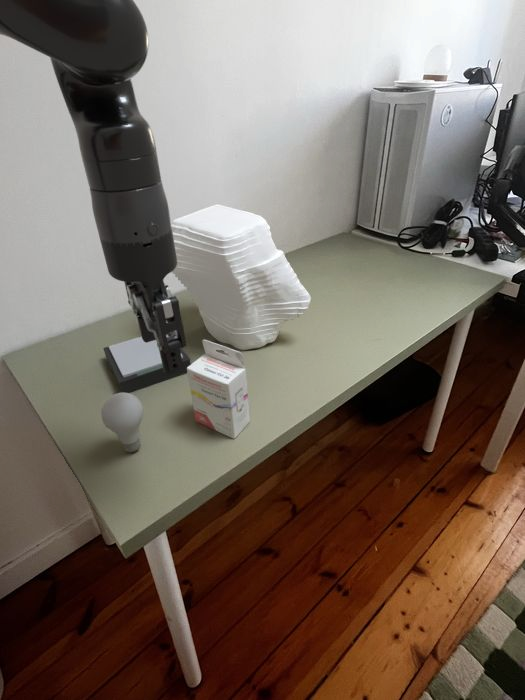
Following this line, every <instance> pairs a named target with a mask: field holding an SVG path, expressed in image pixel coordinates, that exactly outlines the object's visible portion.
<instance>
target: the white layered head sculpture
mask: <svg viewBox="0 0 525 700" xmlns="http://www.w3.org/2000/svg"><path fill="white" fill-rule="evenodd" d="M171 226H172V232H173V238H174V244H175V250H176V256H177V266H176V268H175V269H174V270H173V271H172V272H171V273H172V274H174V276H175V278H177V280H178V281H179V282H180V284H182V285H183V287H185V288H186V290H187V291H188V294H189V297H190V298H191V299H192V301H193V302H194V303H195V304H196V306H197V308H198V311H199V312H198V313H199V314H200V317H201V318H202V321H203V324H204V326H205V327H206V331H207V332H208V333H209V334H210V335H211V336H212V337H213V338H214V339H215V340H217V341H218V342H220V343H224V344H228V345H231V346H232V347H234V348H235V349H237V350H242V351H247V350H252V349H259V348H262V347H264V346H266V345H267V344H270V343H273V342H275V341H276V339H277V338H278V335H279V334H280V332H281V331H282V330H281V329H282V328H283V326H284V324H285V322H288V321H294V320H295V319H297V318H300V317H301V316H303V315H304V313H306V312H307V310H308V309H309V307H310V304H311V299H312V297H311V295H310V293H309V292H308V291H307V288H305V286H304V285H303V284H302V283H301V280H300V279H299V278H298V275H297V273H296V272H295V271H294V268H292V266H291V263H290V262H289V261H288V260H287V258H286V255H285V252H284V251H283V250H281V249H277V247H276V244H275V241H274V240H273V238H272V234H273V233H272V232H271V226H270V225H269V224H268V222H267V220H266V219H265V218H264V217H263V216H261V215H260V214H255V213H253V212H250V211H246V210H243V209H238V208H234V207H230V206H227V205H222V204H218V203H216V204H213V205H210V206H207V207H205V208H202V209H200V210H196V211H194V212H191V213H189V214H186V215H182V216H181V217H178V218H175V219H174V220H172V222H171Z"/></svg>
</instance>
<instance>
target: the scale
mask: <svg viewBox="0 0 525 700" xmlns="http://www.w3.org/2000/svg"><path fill="white" fill-rule="evenodd" d="M170 336H173V335H172V333H171V332H169V333H167V335H166V337H170ZM102 350H103V351H104V356H105V359H106V361H107V363H108V366H109V368H110V370H111V373H112V374H113V376H114V379H115V381H116V383H117V385H118V387H119V389H120V393H129V394H131V393H134V392H136V391H138V390H141V389H144V388H147V387H151V386H153V385H156V384H159V383H161V382H165V381H167V380H170V379H173V378H176V377H179V376H182V375H184V374H188V372H187V367H189V366H190V365H191V364H192V363H191V358H190V357H189V356H188V355H187V353H186V351H184V349H183V348H180V353H181V358H182V364H183V369H182V370H181V371H180V372H177V373H174V374H171V375H167V374H166V373H165V372H164V370H163V366H162V361H161V356H160V351H159V348H158V347H157V342H156V340H154V341H150V342H147V343H146V342H144V341H143V339H142V336H141V335H140V336H138V337H135V338H132V339H129V340H125V341H121V342H118V343H115V344H111V345H108V346H105V347H103V349H102Z"/></svg>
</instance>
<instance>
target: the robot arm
mask: <svg viewBox="0 0 525 700" xmlns="http://www.w3.org/2000/svg"><path fill="white" fill-rule="evenodd" d="M148 33H149V32H148V27H147V24H146V21H145V19H144V16H143V14H142V11H141V9H140V8H139V7H138V5H137V4H136V2H135V1H134V0H0V35H1V36H5V37H8V38H10V39H12V40H14V41H16V42H19V43H20V44H21V45H25V46H26V47H28V48H31V49H33V50H35V51H36V52H39V53H40V54H43V55H44V56H47V57H49V58H50V62H51V65H52V67H53V68H52V69H53V72H54V75H55V78H56V80H57V84H58V86H59V89H60V92H61V95H62V98H63V100H64V103H65V105H66V108H67V110H68V114H69V115H70V116H69V117H70V118H71V120H72V124H73V126H74V129H75V132H76V136H77V141H78V147H79V152H80V156H81V161H82V164H83V168H84V173H85V177H86V180H87V184H88V187H89V192H90V198H91V209H92V213H93V217H94V222H95V225H96V229H97V233H98V238H99V241H100V244H101V248H102V249H101V250H102V252H103V256H104V260H105V263H106V268H107V271H108V274H109V275H110V276H111V278H113V279H114V280H117V281H119V282H124V286H125V291H126V296H127V299H128V300H127V302H128V305H129V306H130V307H131V308H132V313H133V315H134V316H135V317H136V319H137V324H138V328H139V332H140V337H141V336H142V339H143V341H144V342H146V343H147V342H150V341H154V340H156V342H157V347H158V348H159V351H160V356H161V361H162V366H163V370H164V372H165V373H166V374H167V375H171V374H174V373H177V372H180V371H181V370H182V369H183V364H182V358H181V353H180V348H182V349H183V348H186V347H187V339H186V336H185V330H184V324H183V319H182V314H181V310H180V309H181V308H180V301H179V299H178V298H177V296H176V295H174V296H173V295H172V292H171V289H170V287H169V285H168V284H165V282H164V279H165V278H166V277H167V276H168V275H169V274H171V273H172V271H173V270H174V269H175V268H176V266H177V256H176V250H175V244H174V238H173V232H172V226H171V225H172V221H171V214H170V207H169V203H168V198H167V195H166V192H165V189H164V185H163V179H162V176H161V170H160V169H161V168H160V164H159V158H158V152H157V145H156V139H155V137H154V133H153V130H152V127H151V125H150V124H149V122H148V120H146V117H144V115H142V114H141V111H140V109H139V106H138V102H137V98H136V94H135V93H136V92H135V89H134V85H133V80H132V78H134V77H135V76H136V75H137V74H138V73H139V72H140V71H141V70H142V68H143V67H144V65H145V63H146V61H147V58H148V54H149V46H150V45H149V42H150V41H149V40H150V39H149V34H148ZM169 332H170V334H171V335H172V336H170V337H166V335H167V333H169Z"/></svg>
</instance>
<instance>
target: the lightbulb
mask: <svg viewBox="0 0 525 700" xmlns="http://www.w3.org/2000/svg"><path fill="white" fill-rule="evenodd" d="M100 411H101V412H100V417H101V420H102V423H103V425H104V426H105V427H106V428H107V429H108V430H109V431H111V432H112V433H114V434H116V436H117V437H118V439H119V441H120V443H121V444H122V445H123V448H124V450H125V451H126V452H129V453H134V452H136V451H137V450H139V449H140V448H141V439H140V437H141V433H140V426H141V423H142V421H143V418H144V406H143V404H142V401H140V399H139V398H138V397H137V396H135V395H134V394H133V393H122V392H118V393H115V394H112V395H111V396H109V397H108V398H107V399H106V400H105V401H104V403H103V405H102V407H101V410H100Z"/></svg>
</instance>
